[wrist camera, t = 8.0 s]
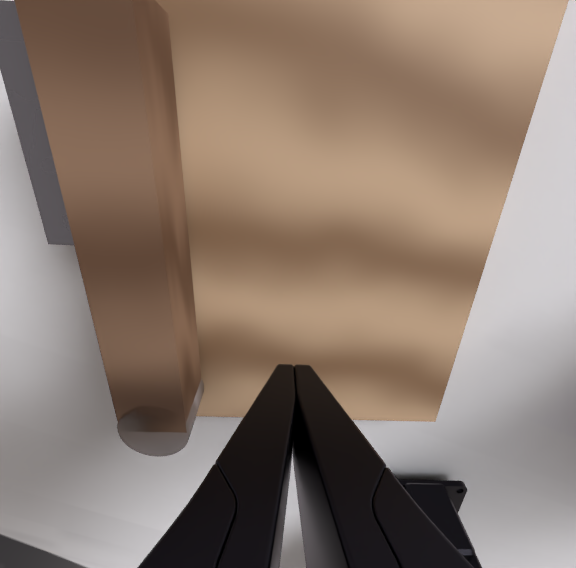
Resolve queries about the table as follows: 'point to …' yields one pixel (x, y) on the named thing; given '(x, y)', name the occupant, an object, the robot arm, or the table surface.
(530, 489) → the table surface
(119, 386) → the stool leg
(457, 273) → the stool seat
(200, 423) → the table surface
